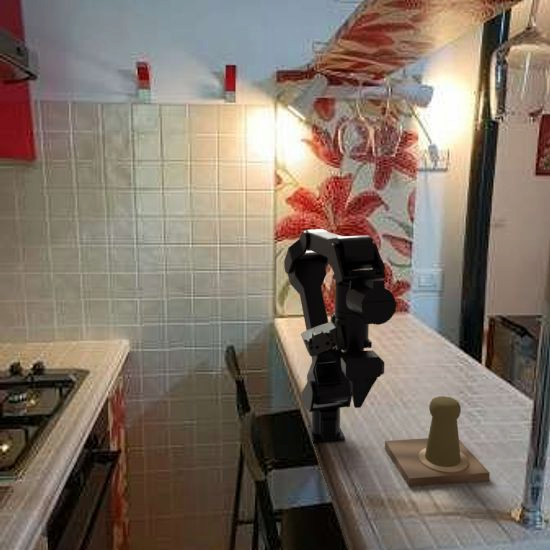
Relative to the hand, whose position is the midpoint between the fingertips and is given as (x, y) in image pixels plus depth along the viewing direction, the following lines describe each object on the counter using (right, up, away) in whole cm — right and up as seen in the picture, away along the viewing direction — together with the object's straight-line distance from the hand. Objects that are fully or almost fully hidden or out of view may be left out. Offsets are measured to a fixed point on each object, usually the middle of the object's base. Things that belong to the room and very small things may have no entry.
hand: (350, 396), depth 94 cm
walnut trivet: (+15, -13, +2) cm, 20 cm away
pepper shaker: (+16, -11, +1) cm, 20 cm away
